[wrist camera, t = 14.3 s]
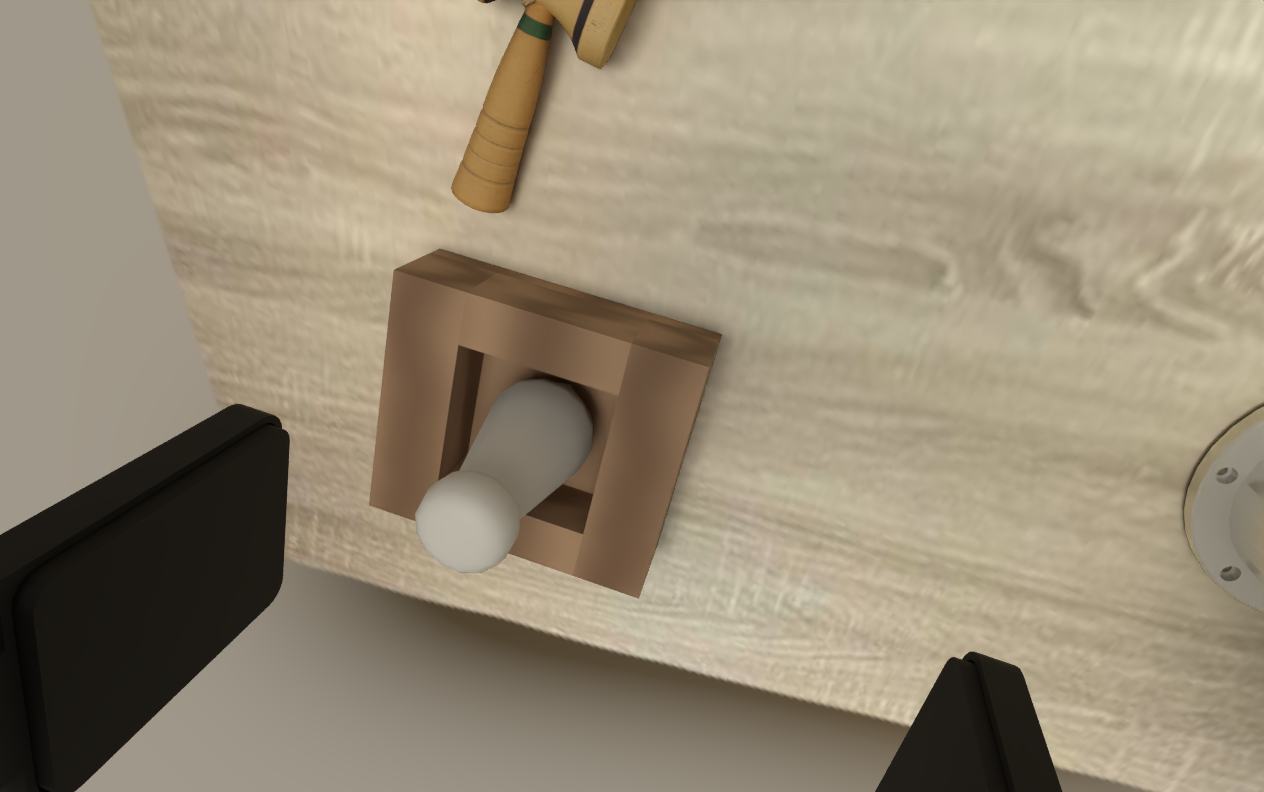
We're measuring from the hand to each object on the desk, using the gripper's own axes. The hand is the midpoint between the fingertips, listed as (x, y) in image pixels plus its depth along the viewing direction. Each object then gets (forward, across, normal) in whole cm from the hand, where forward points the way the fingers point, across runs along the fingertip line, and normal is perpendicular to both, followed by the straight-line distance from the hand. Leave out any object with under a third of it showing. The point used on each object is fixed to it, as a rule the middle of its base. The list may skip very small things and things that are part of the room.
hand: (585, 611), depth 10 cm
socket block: (+30, +8, +13) cm, 34 cm away
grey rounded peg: (+30, +8, +13) cm, 33 cm away
